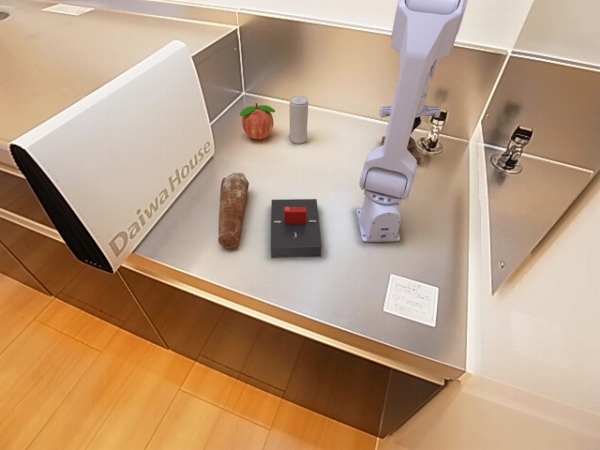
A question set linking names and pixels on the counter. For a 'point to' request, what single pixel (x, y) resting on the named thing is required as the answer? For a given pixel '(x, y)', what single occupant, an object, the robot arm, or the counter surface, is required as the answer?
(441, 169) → the counter surface
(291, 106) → the beverage can
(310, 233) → the panel
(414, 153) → the button block
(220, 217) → the bread
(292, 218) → the toaster knob
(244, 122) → the fruit
